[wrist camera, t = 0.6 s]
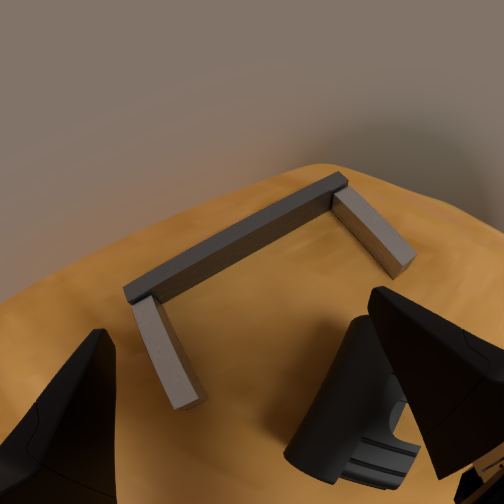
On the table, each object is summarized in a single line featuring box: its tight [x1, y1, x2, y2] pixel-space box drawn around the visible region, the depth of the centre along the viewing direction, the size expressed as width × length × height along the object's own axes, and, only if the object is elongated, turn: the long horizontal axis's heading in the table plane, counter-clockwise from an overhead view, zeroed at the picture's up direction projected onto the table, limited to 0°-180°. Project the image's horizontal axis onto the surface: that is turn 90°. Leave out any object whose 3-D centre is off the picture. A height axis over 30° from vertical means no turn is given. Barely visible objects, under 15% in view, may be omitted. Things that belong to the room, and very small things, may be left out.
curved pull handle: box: [123, 171, 417, 410], centre depth 22 cm, size 11×22×3 cm, turn 120°
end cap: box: [283, 315, 421, 490], centre depth 14 cm, size 10×7×7 cm
